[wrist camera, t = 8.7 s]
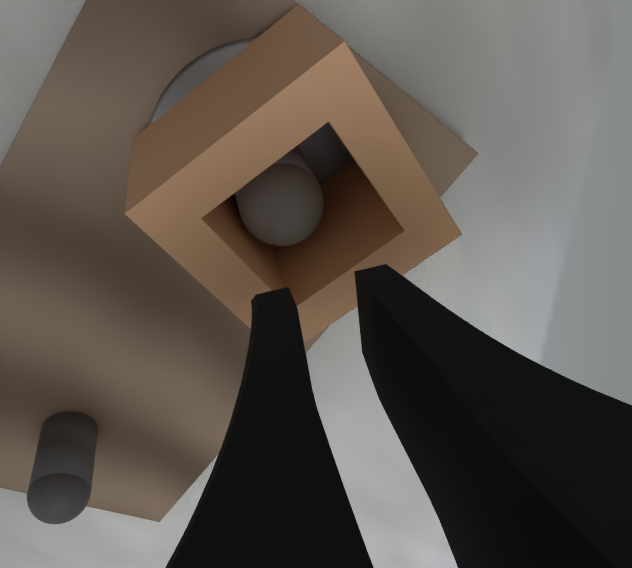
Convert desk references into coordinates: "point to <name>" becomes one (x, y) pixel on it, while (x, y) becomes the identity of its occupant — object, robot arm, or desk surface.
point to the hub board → (139, 261)
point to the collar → (265, 149)
